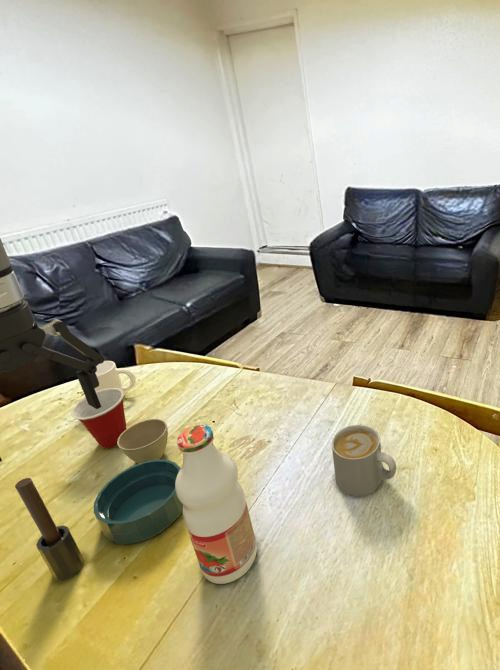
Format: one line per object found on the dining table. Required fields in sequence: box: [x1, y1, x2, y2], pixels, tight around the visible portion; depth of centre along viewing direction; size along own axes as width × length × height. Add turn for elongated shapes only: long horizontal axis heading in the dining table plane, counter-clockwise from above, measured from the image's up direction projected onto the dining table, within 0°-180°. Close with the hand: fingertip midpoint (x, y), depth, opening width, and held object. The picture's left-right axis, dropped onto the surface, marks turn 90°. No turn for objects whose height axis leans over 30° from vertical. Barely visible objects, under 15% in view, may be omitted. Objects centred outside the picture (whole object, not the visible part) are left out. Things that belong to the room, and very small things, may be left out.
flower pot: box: [117, 418, 169, 464], centre depth 95 cm, size 10×10×7 cm
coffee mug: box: [331, 424, 397, 497], centre depth 85 cm, size 13×10×10 cm
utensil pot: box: [35, 525, 85, 582], centre depth 71 cm, size 4×4×8 cm
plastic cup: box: [70, 388, 127, 449], centre depth 99 cm, size 11×11×12 cm
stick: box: [14, 477, 62, 546], centre depth 68 cm, size 2×2×20 cm
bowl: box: [93, 458, 183, 545], centre depth 81 cm, size 15×15×6 cm
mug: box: [94, 360, 136, 398], centre depth 116 cm, size 12×8×10 cm
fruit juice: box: [175, 424, 258, 585], centre depth 67 cm, size 9×9×28 cm
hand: (49, 430), depth 64 cm, fingers open, 13 cm apart
